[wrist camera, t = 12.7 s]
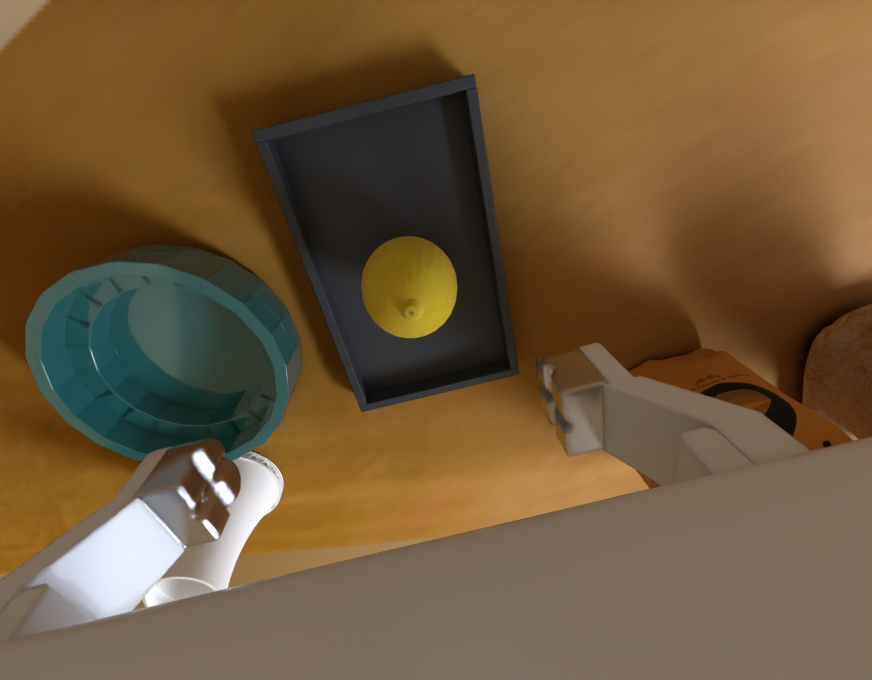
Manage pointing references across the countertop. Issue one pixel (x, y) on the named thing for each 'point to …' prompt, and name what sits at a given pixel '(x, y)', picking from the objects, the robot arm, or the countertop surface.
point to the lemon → (409, 287)
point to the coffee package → (741, 395)
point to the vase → (223, 536)
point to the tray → (398, 232)
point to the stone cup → (842, 373)
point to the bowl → (164, 351)
